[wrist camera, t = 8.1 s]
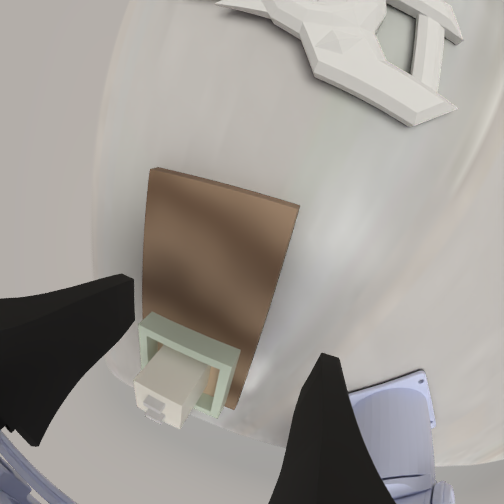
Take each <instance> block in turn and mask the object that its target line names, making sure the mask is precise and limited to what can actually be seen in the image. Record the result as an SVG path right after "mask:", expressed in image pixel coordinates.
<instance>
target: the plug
mask: <svg viewBox="0 0 504 504" xmlns="http://www.w3.org/2000/svg"><path fill="white" fill-rule="evenodd" d="M210 369H211V366H210V365H208V364H205V363H203V362H201V361H198V360H196V359H194V358H192V357H189V356H187V355H185V354H183V353H181V352H179V351H176V350H174V349H172V348H170V347H168V346H166V345H163V346H162V347H161V349H160V350H159V351H158V352H157V353H156V354H155V355H154V357H153V358H152V359H151V360H150V361H149V362H148V364H147V365H146V366H145V367H144V368H143V369H142V370H141V372H140V373H139V374H138V375H137V376H136V377H135V379H134V380H133V382H134V389H135V395H136V402H137V406H138V407H139V408H140V409H142V410H144V411H146V412H145V417H147V418H149V419H151V420H153V421H154V422H156V423H158V424H160V425H161V424H162V422H163V421H164V422H166V423H168V424H170V425H172V426H174V427H176V428H178V429H181V427H182V426H183V424H184V422H185V421H186V419H187V418H188V416H189V414H190V413H191V411H192V409H193V408H194V406H195V405H196V403H197V401H198V400H199V398H200V396H201V395H202V393H203V391H204V390H205V388H206V386H207V384H208V379H209V374H210Z"/></svg>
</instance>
